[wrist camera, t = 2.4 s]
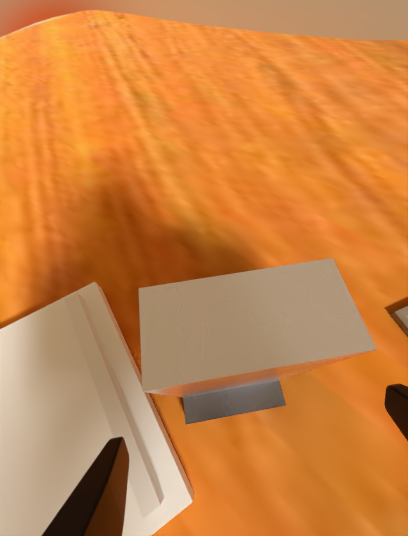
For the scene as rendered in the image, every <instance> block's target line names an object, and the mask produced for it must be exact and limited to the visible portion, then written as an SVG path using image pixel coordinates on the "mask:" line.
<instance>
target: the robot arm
mask: <svg viewBox="0 0 408 536" xmlns="http://www.w3.org/2000/svg"><path fill="white" fill-rule="evenodd" d="M385 408H386V410H387V412H388V413H389V415H390V416H391V418H392V419H393V421H394V422H395V424H396V425H397V426H398V428H399V429H400V431H401V432H402V434H403V435H404V436H405V438H406V439H407V441H408V387H407V386H404V385H402V384H393V385H389V386H387V388H386V395H385ZM128 472H129V453H128V450H127V446H126V443H125V440H124V438H123V437H115V438H111V439H110V440H109V441H108V442H107V443H106V445H105V446H104V448H103V449H102V450H101V452H100V453H99V455H98V456H97V457H96V459H95V460H94V462H93V463H92V465H91V466H90V467H89V469H88V470H87V472H86V473H85V474H84V476H83V477H82V479H81V480H80V482H79V483H78V484H77V486H76V487H75V489H74V490H73V491H72V493H71V494H70V496H69V497H68V499H67V500H66V501H65V503H64V504H63V506H62V507H61V508H60V510H59V511H58V513H57V514H56V516H55V517H54V518H53V520H52V521H51V523H50V524H49V525H48V527H47V528H46V530H45V531H44V533H43V534H42V535H41V536H122V532H123V526H124V517H125V506H126V495H127V483H128Z"/></svg>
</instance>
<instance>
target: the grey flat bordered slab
mask: <svg viewBox="0 0 408 536" xmlns="http://www.w3.org/2000/svg"><path fill="white" fill-rule="evenodd" d="M390 315H391V317H392V318H393V319H394V320H395V322H396V323H397V324H398V325H399V327H400V328H401V329H402V330H403V331H404V333H405V334H406V335H407V336H408V306H406V307H404V308H402V309H400V310H398V311H395V312H393V313H391V314H390Z"/></svg>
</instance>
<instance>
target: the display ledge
mask: <svg viewBox="0 0 408 536" xmlns="http://www.w3.org/2000/svg"><path fill="white" fill-rule="evenodd" d="M115 437H123V438H124V440H125V443H126V446H127V450H128V453H129V472H128V483H127V495H126V506H125V517H124V526H123V532H122V536H151V535H152V534H154V533H155V532H156V531H157V530H159V529H160V528H161V527H162V526H164V525H165V524H166V523H167V522H168V521H170V520H171V519H172V518H173V517H175V516H176V515H177V514H178V513H180V512H181V511H182V510H183V509H185V508H186V507H187V506H188V505H189V504H191V503H192V502H193V498H194V491H193V489H192V487H191V485H190V482H189V480H188V478H187V476H186V474H185V471H184V469H183V467H182V465H181V462H180V460H179V458H178V456H177V454H176V451H175V449H174V447H173V445H172V443H171V440H170V438H169V436H168V434H167V432H166V429H165V427H164V425H163V423H162V420H161V418H160V416H159V414H158V412H157V409H156V407H155V405H154V403H153V401H152V398H151V396H150V394H149V393H147V392H142V376H141V374H140V372H139V370H138V367H137V365H136V363H135V361H134V359H133V356H132V354H131V352H130V350H129V348H128V345H127V343H126V341H125V339H124V336H123V334H122V332H121V330H120V328H119V325H118V323H117V321H116V319H115V317H114V314H113V312H112V310H111V308H110V306H109V303H108V301H107V299H106V297H105V294H104V292H103V290H102V288H101V287H100V286H99V285H98V284H97V283H96V282H93V283H91V284H89V285H87V286H85V287H83V288H81V289H79V290H77V291H75V292H73V293H71V294H69V295H67V296H65V297H63V298H61V299H59V300H57V301H55V302H53V303H51V304H49V305H47V306H45V307H43V308H41V309H39V310H37V311H35V312H33V313H32V314H30V315H28V316H26V317H24V318H22V319H20V320H18V321H16V322H14V323H12V324H10V325H8V326H6V327H4V328H2V329H0V536H41V535H42V534H43V533H44V531H45V530H46V528H47V527H48V525H49V524H50V523H51V521H52V520H53V518H54V517H55V516H56V514H57V513H58V511H59V510H60V508H61V507H62V506H63V504H64V503H65V501H66V500H67V499H68V497H69V496H70V494H71V493H72V491H73V490H74V489H75V487H76V486H77V484H78V483H79V482H80V480H81V479H82V477H83V476H84V474H85V473H86V472H87V470H88V469H89V467H90V466H91V465H92V463H93V462H94V460H95V459H96V457H97V456H98V455H99V453H100V452H101V450H102V449H103V448H104V446H105V445H106V443H107V442H108V441H109V440H110V439H111V438H115Z"/></svg>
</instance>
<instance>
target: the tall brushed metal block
mask: <svg viewBox="0 0 408 536" xmlns="http://www.w3.org/2000/svg"><path fill="white" fill-rule="evenodd" d="M139 316H140V343H141V371H142V392H147V393H154V394H161V395H168V396H175V397H182V398H183V402H184V411H185V421H186V424H190V423H195V422H201V421H206V420H211V419H216V418H222V417H227V416H232V415H237V414H243V413H248V412H253V411H258V410H264V409H269V408H274V407H279V406H285V405H286V403H285V400H284V396H283V393H282V389H281V386H280V382H279V380H280V379H284V378H287V377H290V376H293V375H297V374H300V373H303V372H306V371H309V370H313V369H316V368H319V367H322V366H325V365H329V364H332V363H335V362H338V361H341V360H345V359H348V358H351V357H354V356H357V355H361V354H364V353H367V352H370V351H374V350H377V348H376V346H375V344H374V342H373V340H372V338H371V336H370V334H369V332H368V330H367V328H366V326H365V324H364V322H363V320H362V318H361V315H360V313H359V311H358V309H357V307H356V305H355V303H354V301H353V299H352V297H351V295H350V293H349V291H348V289H347V287H346V285H345V283H344V281H343V279H342V276H341V274H340V272H339V270H338V268H337V266H336V264H335V262H334V260H333V258H329V259H323V260H316V261H310V262H304V263H297V264H291V265H284V266H278V267H271V268H265V269H259V270H252V271H246V272H239V273H233V274H227V275H220V276H214V277H207V278H201V279H194V280H188V281H182V282H175V283H169V284H162V285H156V286H149V287H143V288H139Z"/></svg>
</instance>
